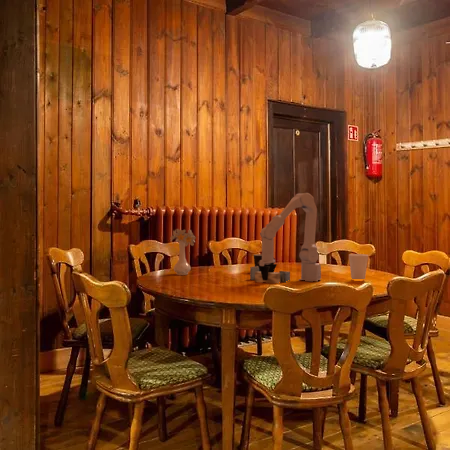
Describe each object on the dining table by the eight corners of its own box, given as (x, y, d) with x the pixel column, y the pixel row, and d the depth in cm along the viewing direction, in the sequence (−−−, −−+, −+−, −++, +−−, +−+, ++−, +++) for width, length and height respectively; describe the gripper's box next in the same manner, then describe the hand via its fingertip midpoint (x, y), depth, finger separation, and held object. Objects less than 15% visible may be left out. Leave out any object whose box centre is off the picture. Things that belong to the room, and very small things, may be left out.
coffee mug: (251, 272, 269) (251, 255, 269) (257, 271, 277) (257, 254, 277) (270, 274, 264) (270, 256, 264) (275, 272, 272) (276, 254, 271)
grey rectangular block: (263, 278, 246) (263, 266, 246) (257, 280, 240) (257, 267, 240) (255, 278, 248) (255, 265, 248) (250, 279, 242) (250, 267, 242)
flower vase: (183, 277, 251) (183, 229, 250) (164, 273, 264) (164, 228, 264) (203, 275, 259) (203, 229, 258) (183, 271, 273) (183, 228, 272)
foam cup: (363, 282, 234) (363, 256, 234) (345, 280, 240) (345, 255, 240) (370, 280, 242) (370, 254, 242) (353, 278, 248) (353, 253, 247)
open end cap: (289, 280, 239) (290, 271, 239) (284, 282, 233) (285, 273, 233) (279, 280, 242) (279, 271, 242) (274, 281, 236) (274, 272, 236)
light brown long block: (280, 283, 233) (280, 272, 233) (277, 284, 230) (277, 273, 230) (257, 281, 239) (257, 271, 239) (254, 282, 236) (254, 272, 236)
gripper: (266, 250, 242) (266, 276, 243) (254, 252, 230) (253, 280, 230) (279, 250, 239) (278, 277, 239) (267, 253, 226) (267, 281, 227)
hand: (267, 279), depth 234 cm, fingers open, 6 cm apart
